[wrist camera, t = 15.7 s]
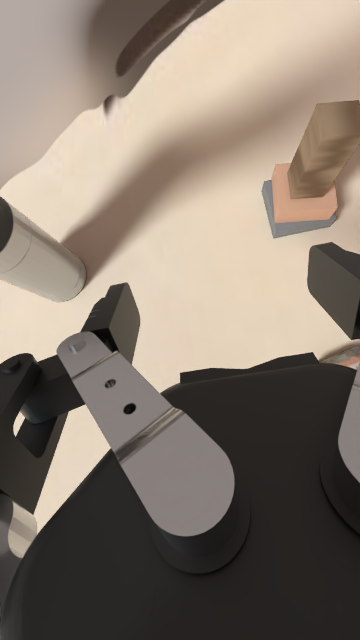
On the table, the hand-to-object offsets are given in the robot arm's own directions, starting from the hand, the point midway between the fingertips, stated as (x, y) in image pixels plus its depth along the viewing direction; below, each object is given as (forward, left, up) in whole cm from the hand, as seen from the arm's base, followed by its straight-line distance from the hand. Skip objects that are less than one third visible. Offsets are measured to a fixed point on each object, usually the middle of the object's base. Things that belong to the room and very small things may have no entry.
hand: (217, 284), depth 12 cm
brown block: (+8, +25, -25) cm, 36 cm away
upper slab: (+9, +25, -28) cm, 39 cm away
